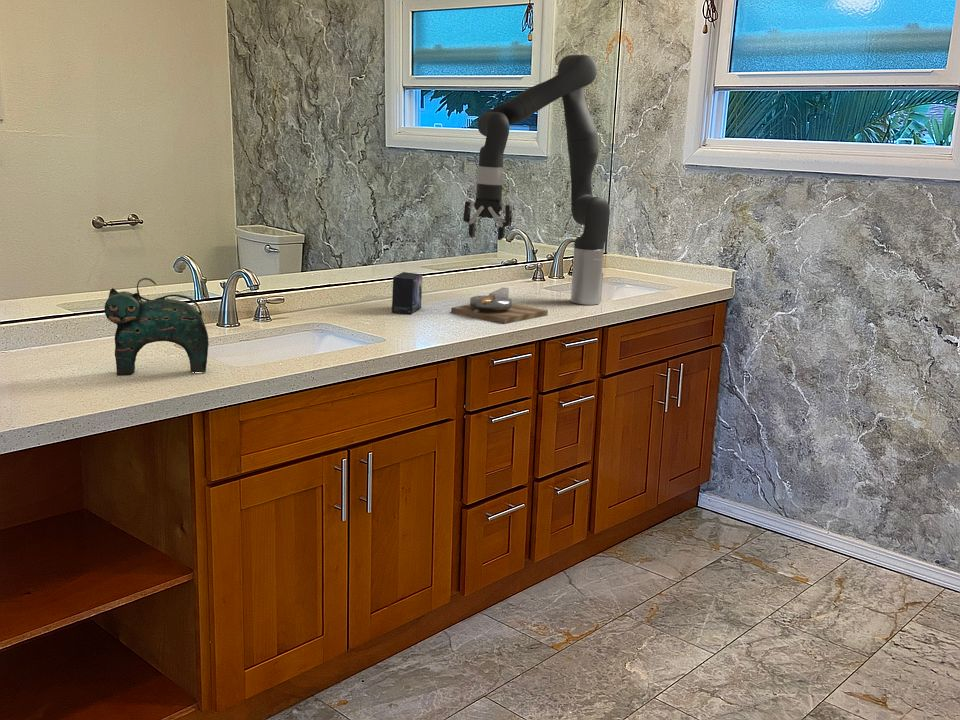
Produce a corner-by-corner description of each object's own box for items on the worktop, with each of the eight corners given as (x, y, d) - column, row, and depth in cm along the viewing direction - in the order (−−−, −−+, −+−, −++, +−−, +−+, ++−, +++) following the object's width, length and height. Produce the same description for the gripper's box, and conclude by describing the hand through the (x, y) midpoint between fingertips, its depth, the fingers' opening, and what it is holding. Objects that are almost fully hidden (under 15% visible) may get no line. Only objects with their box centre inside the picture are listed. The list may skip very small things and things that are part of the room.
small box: (413, 315, 271) (413, 278, 268) (390, 313, 272) (391, 276, 269) (422, 308, 281) (423, 273, 278) (401, 306, 282) (402, 271, 279)
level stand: (494, 304, 291) (495, 298, 291) (547, 315, 279) (548, 308, 278) (451, 312, 276) (451, 305, 276) (504, 323, 264) (505, 316, 263)
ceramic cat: (107, 377, 194) (102, 279, 189) (111, 369, 200) (106, 274, 195) (208, 375, 198) (206, 280, 193) (209, 367, 204) (207, 275, 200)
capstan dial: (502, 314, 267) (503, 299, 266) (462, 310, 271) (463, 295, 270) (524, 303, 285) (524, 289, 284) (486, 299, 289) (486, 285, 288)
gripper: (462, 181, 276) (459, 237, 280) (509, 185, 272) (505, 241, 275) (471, 180, 283) (467, 235, 287) (516, 184, 279) (512, 239, 282)
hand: (486, 238), depth 281 cm, fingers open, 8 cm apart
